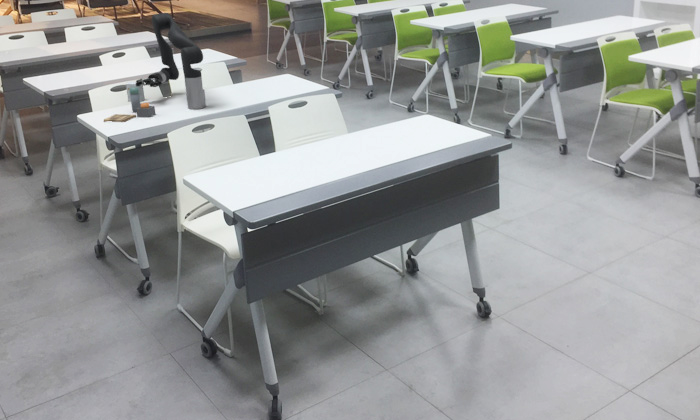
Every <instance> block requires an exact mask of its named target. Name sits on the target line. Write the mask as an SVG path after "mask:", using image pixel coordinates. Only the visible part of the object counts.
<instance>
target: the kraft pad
mask: <svg viewBox="0 0 700 420" xmlns="http://www.w3.org/2000/svg"><path fill="white" fill-rule="evenodd" d="M136 117H137V114H124V113H123V114H121V113H120V114H118V113H117V114H113V115H111V116H109V117H106V118H104V119H103V122H107V121H112V122H113V123H114V122H115V123H116V122H117V123H118V122H119V123H125V122H127V121H129V120H132V119H133V118H136ZM112 122H111V123H112Z"/></svg>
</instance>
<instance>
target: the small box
mask: <svg viewBox="0 0 700 420" xmlns="http://www.w3.org/2000/svg"><path fill="white" fill-rule="evenodd" d="M131 87H138V88H139V96H140V102H142V101H144V100H146V98H145V91H144V85H140V86H136V81H130V82H127V83H125V88H126V95H127V100H128V102H131V97H130V92H129V88H131Z"/></svg>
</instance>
